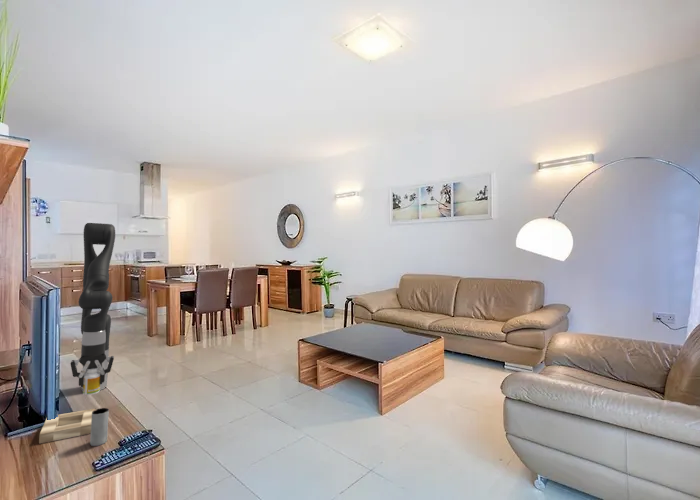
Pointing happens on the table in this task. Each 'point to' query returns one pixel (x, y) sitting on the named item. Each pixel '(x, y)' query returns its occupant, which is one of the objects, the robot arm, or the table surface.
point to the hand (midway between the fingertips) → (91, 384)
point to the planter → (99, 426)
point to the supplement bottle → (91, 381)
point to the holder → (66, 426)
